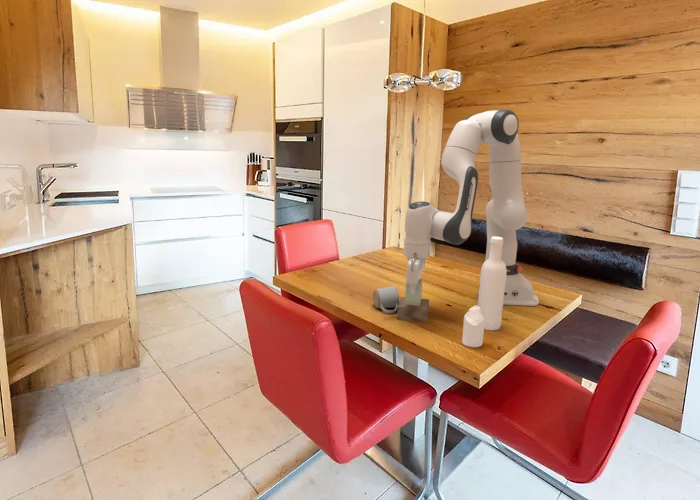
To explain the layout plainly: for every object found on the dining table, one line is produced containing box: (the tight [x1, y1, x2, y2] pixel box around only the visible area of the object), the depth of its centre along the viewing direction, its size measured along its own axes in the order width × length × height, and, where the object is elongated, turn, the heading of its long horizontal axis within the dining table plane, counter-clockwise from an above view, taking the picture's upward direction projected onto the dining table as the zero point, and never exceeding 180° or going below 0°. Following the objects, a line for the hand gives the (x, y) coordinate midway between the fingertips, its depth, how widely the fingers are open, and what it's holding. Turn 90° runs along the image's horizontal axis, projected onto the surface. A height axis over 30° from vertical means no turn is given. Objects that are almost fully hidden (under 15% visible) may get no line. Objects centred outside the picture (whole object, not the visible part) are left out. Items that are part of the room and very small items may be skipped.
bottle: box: [477, 237, 507, 331], centre depth 138 cm, size 8×8×30 cm
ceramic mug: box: [372, 285, 400, 315], centre depth 154 cm, size 11×8×8 cm
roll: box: [461, 304, 485, 348], centre depth 127 cm, size 6×12×6 cm
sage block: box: [404, 278, 423, 306], centre depth 147 cm, size 5×5×8 cm
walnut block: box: [396, 296, 430, 323], centre depth 149 cm, size 10×10×5 cm
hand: (414, 289), depth 147 cm, fingers open, 8 cm apart
